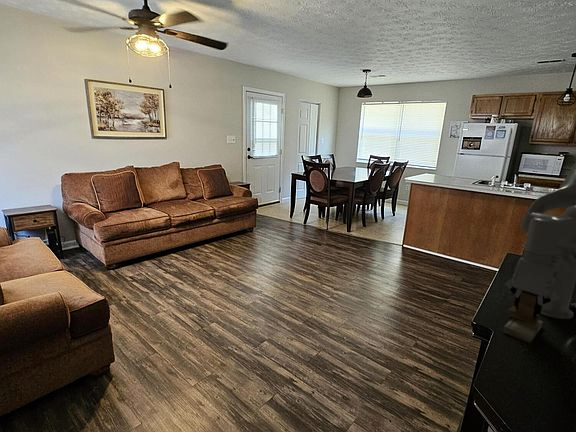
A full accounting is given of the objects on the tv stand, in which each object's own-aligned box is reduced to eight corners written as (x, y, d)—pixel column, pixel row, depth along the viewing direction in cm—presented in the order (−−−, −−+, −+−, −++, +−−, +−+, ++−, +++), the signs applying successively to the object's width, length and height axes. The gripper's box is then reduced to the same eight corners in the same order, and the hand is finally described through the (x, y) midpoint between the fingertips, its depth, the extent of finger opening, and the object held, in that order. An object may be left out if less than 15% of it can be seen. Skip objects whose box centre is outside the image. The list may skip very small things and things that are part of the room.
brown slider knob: (510, 316, 106) (516, 286, 104) (536, 326, 101) (543, 294, 99) (506, 320, 104) (512, 289, 102) (533, 330, 98) (540, 298, 96)
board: (516, 317, 107) (517, 312, 106) (541, 326, 102) (543, 321, 101) (502, 332, 98) (503, 326, 97) (530, 343, 93) (531, 337, 92)
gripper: (576, 262, 93) (562, 318, 97) (510, 248, 106) (500, 298, 110) (571, 268, 88) (557, 327, 92) (502, 252, 101) (492, 304, 105)
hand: (526, 311), depth 101 cm, fingers closed on brown slider knob, 4 cm apart
